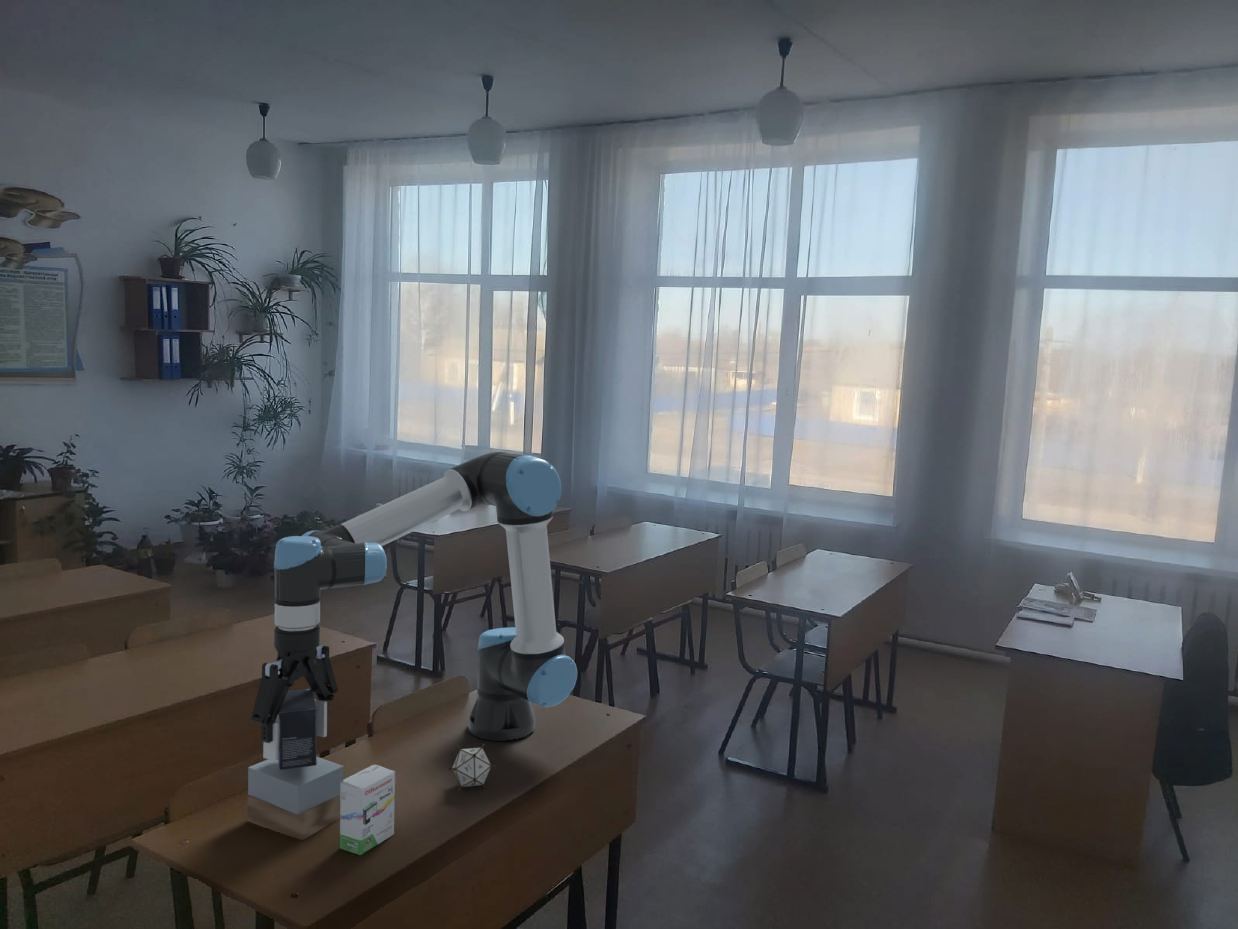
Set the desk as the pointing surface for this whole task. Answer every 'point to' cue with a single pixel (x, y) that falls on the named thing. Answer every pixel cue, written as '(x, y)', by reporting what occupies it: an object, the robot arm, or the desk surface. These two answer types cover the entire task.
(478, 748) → the game die
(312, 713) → the small box
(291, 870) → the desk surface
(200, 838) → the desk surface
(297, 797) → the grey slab
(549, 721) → the desk surface
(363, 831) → the ink box
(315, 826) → the walnut slab
